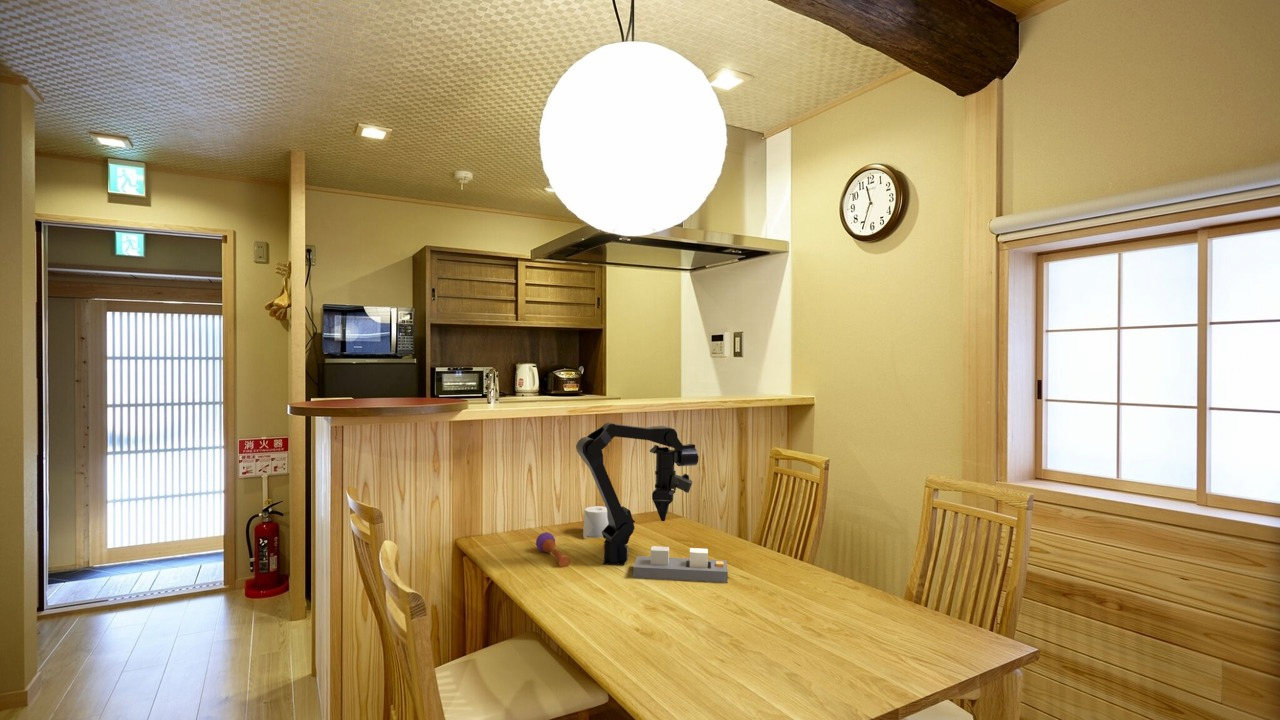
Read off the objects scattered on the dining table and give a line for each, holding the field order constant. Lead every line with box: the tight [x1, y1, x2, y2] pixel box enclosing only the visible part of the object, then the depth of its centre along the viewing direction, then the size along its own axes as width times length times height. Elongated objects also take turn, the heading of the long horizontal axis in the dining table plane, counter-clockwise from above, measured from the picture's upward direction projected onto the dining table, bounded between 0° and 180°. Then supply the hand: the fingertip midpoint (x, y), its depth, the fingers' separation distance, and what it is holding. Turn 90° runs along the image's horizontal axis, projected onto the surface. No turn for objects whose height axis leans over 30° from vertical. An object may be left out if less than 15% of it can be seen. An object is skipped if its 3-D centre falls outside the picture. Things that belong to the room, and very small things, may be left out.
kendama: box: [535, 532, 571, 568], centre depth 190 cm, size 6×6×20 cm
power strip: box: [632, 545, 729, 584], centre depth 177 cm, size 26×10×7 cm, turn 84°
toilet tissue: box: [582, 505, 609, 540], centre depth 215 cm, size 9×13×9 cm
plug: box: [689, 547, 709, 568], centre depth 176 cm, size 5×4×7 cm
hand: (664, 517), depth 193 cm, fingers open, 9 cm apart
